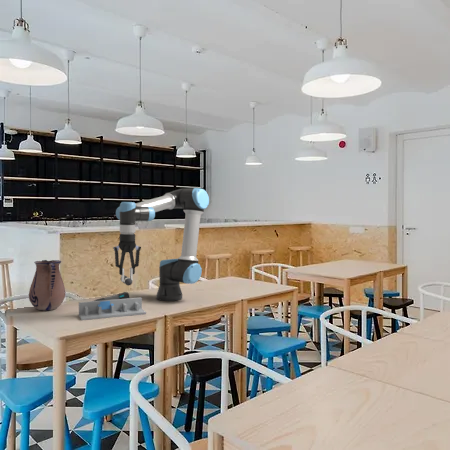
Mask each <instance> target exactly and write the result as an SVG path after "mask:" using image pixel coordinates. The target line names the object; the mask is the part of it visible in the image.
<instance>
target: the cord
mask: <svg viewBox="0 0 450 450" xmlns="http://www.w3.org/2000/svg"><path fill="white" fill-rule="evenodd" d="M122 283H123V284H124V285H126V286H131V285H132V284H133V281H132V279H130V276H127V275H126V274H124V282H122Z"/></svg>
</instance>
